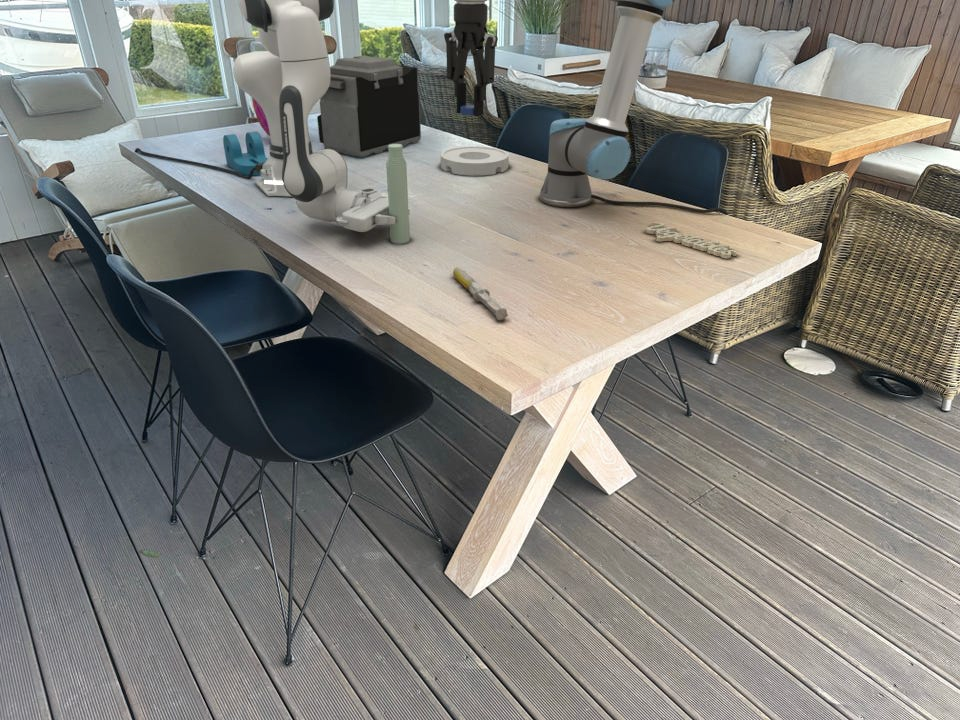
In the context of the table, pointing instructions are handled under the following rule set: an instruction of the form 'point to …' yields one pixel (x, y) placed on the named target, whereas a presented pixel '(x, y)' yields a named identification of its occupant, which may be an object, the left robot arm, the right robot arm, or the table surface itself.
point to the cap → (467, 109)
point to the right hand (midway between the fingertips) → (469, 113)
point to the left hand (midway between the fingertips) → (402, 216)
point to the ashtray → (474, 160)
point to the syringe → (479, 293)
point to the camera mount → (244, 160)
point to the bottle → (398, 194)
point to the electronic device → (369, 106)
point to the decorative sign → (689, 240)
